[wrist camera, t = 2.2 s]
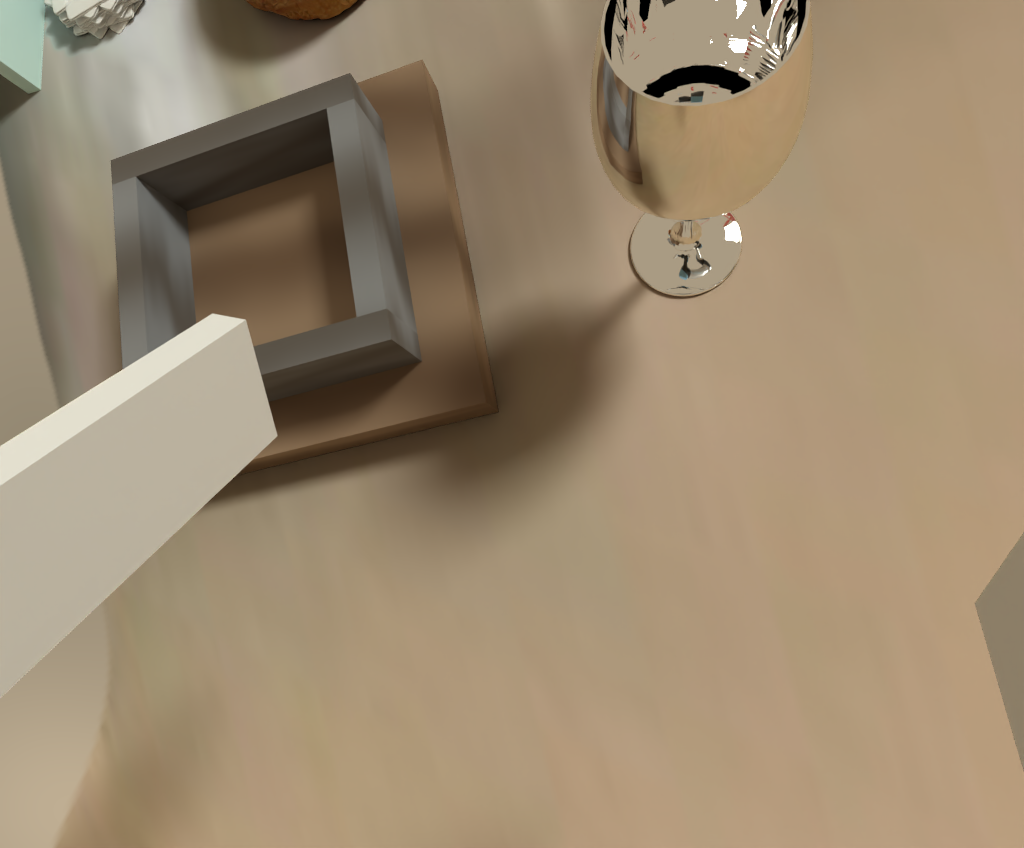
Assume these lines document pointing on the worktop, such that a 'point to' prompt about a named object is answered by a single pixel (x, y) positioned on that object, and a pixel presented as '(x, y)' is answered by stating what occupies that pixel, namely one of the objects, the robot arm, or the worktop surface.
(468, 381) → the socket base
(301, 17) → the burger
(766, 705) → the worktop surface
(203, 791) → the worktop surface
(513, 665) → the worktop surface
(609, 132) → the wineglass
